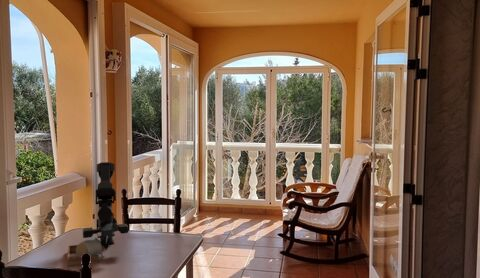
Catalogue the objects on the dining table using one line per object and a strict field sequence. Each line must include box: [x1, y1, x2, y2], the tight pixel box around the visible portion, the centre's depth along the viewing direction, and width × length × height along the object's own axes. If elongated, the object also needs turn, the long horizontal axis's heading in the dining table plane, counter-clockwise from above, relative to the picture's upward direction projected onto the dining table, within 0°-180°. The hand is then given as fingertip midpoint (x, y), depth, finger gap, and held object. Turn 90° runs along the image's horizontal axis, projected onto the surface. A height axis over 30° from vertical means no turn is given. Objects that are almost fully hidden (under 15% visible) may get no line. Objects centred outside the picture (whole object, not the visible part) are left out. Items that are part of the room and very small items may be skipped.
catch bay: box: [67, 244, 100, 267], centre depth 166 cm, size 17×12×3 cm
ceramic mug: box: [75, 236, 104, 260], centre depth 165 cm, size 11×8×8 cm
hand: (106, 249), depth 169 cm, fingers closed
